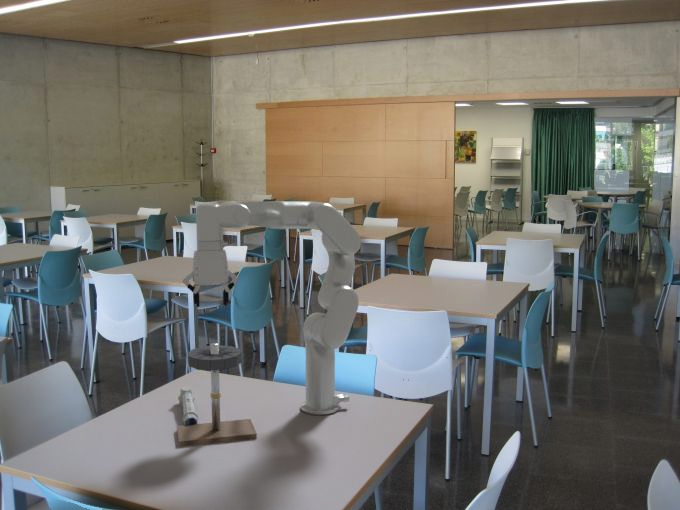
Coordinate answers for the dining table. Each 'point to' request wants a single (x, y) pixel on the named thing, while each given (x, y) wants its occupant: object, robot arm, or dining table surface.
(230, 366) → the grey faceted washer
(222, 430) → the pipe stand base
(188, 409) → the white cylindrical tool
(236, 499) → the dining table surface
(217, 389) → the steel pipe
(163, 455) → the dining table surface
